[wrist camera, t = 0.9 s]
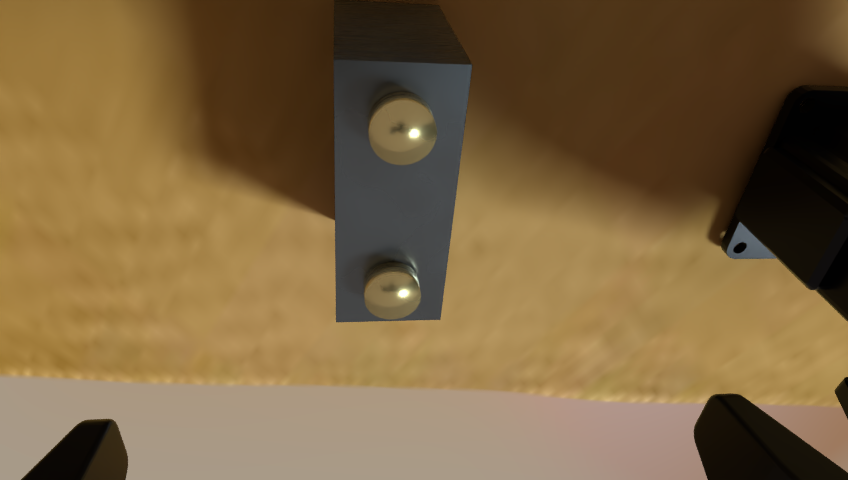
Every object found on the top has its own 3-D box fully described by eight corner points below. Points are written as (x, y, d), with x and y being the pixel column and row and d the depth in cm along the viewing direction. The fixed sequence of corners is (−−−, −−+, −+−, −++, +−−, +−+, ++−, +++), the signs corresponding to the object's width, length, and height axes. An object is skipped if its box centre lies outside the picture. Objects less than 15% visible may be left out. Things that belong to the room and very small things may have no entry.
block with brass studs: (334, -1, 16) (333, 69, 11) (438, 4, 16) (478, 75, 12) (336, 219, 20) (336, 338, 15) (419, 219, 20) (443, 335, 15)
